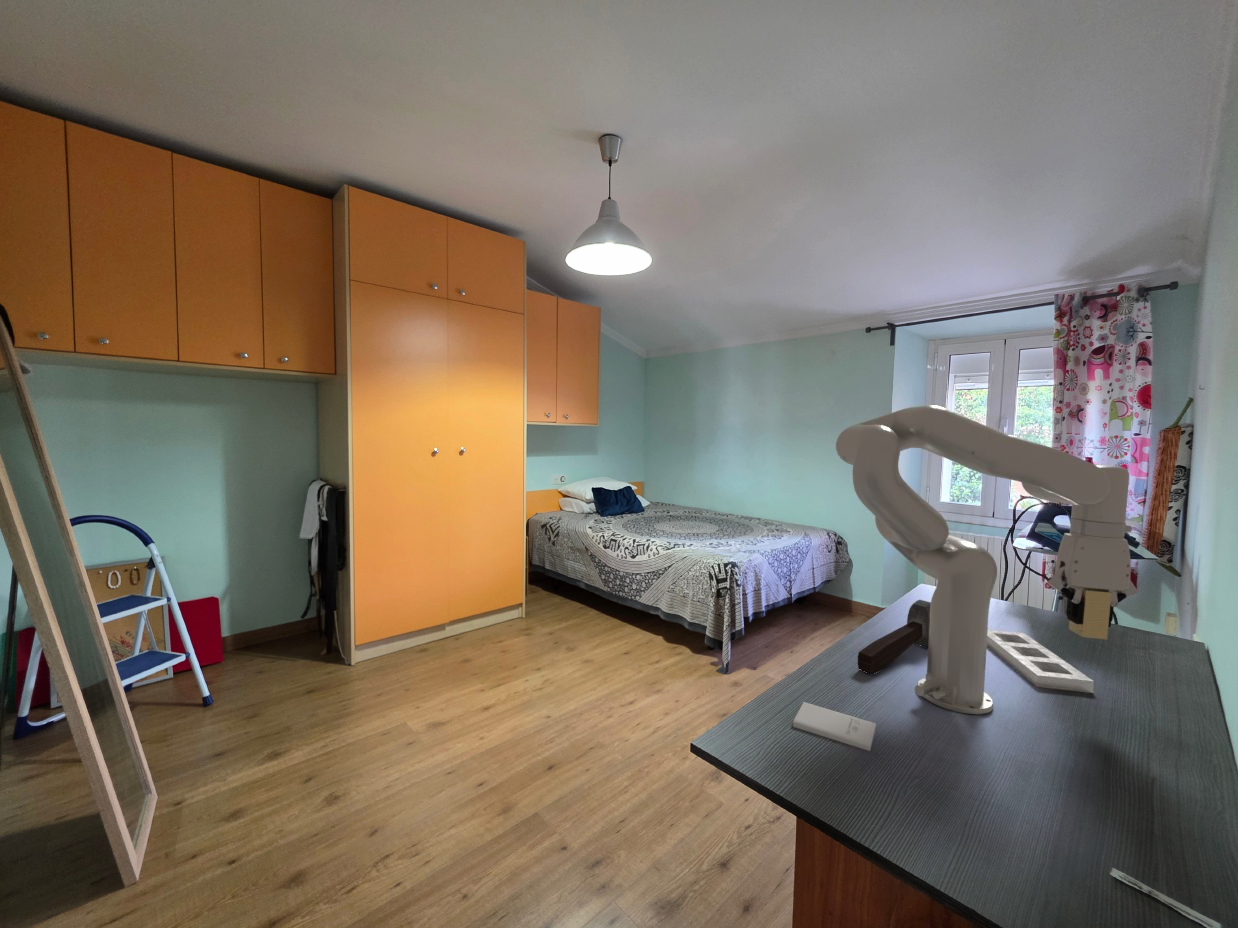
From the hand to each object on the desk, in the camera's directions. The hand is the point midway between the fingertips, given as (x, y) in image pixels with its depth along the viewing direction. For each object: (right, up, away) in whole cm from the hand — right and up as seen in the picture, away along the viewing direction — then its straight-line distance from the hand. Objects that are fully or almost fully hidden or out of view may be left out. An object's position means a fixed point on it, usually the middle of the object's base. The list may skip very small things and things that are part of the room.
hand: (1088, 622), depth 97 cm
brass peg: (0, -2, 0) cm, 2 cm away
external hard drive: (-53, -17, -8) cm, 56 cm away
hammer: (-25, -15, +21) cm, 36 cm away
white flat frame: (+4, -15, +19) cm, 25 cm away
